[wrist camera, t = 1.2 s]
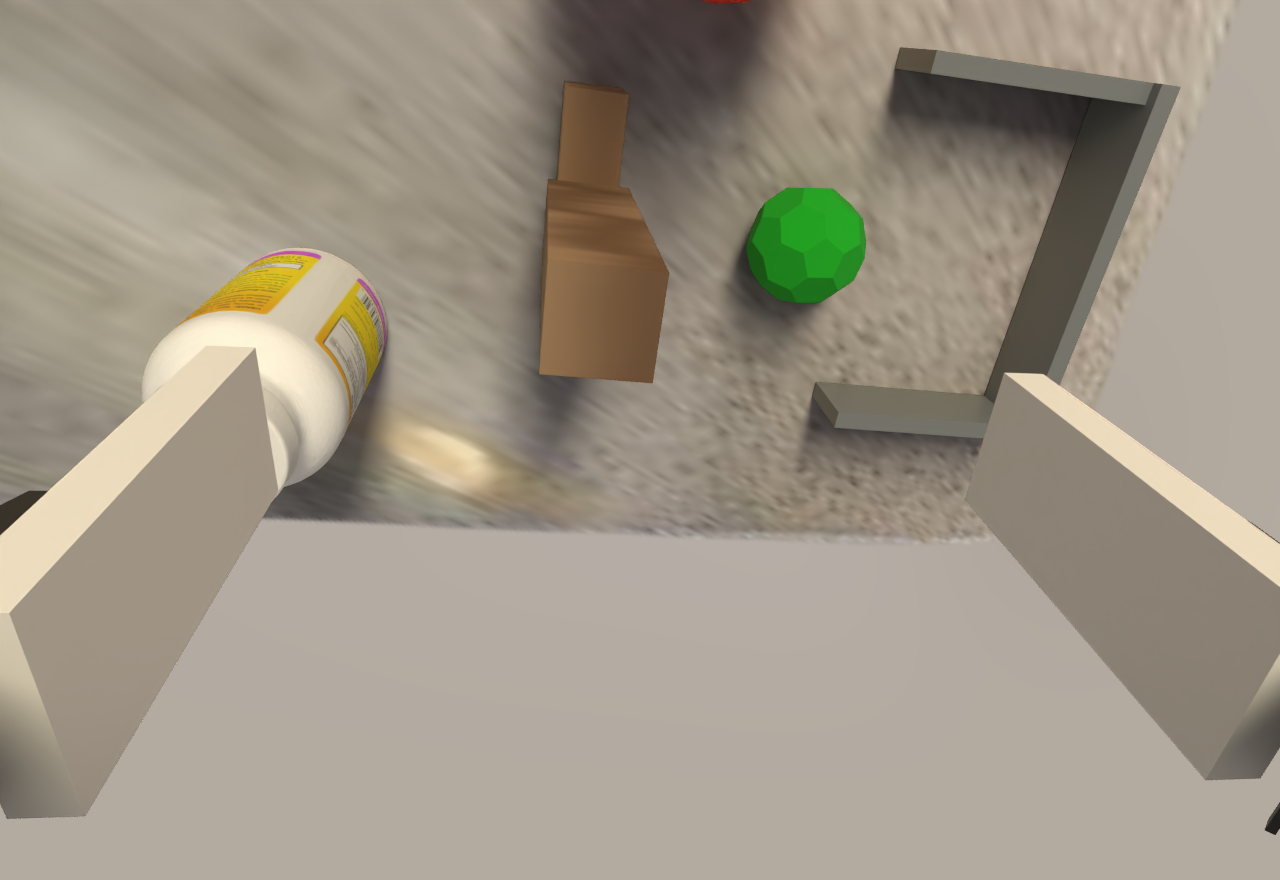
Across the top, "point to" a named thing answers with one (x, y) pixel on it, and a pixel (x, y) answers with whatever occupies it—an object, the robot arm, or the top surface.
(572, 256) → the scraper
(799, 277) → the polyhedron
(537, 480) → the top surface
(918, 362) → the top surface
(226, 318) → the supplement bottle
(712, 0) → the apple
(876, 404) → the tray
